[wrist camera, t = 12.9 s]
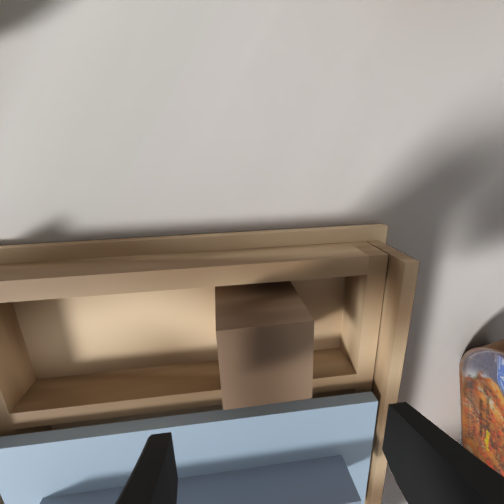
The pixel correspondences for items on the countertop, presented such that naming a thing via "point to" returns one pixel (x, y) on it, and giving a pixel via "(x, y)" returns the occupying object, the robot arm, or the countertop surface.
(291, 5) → the countertop surface
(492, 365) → the tin
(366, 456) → the lid
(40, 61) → the countertop surface
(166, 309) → the wooden tray
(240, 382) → the block
